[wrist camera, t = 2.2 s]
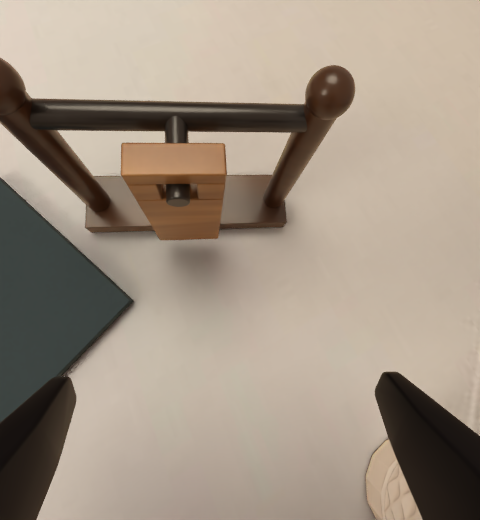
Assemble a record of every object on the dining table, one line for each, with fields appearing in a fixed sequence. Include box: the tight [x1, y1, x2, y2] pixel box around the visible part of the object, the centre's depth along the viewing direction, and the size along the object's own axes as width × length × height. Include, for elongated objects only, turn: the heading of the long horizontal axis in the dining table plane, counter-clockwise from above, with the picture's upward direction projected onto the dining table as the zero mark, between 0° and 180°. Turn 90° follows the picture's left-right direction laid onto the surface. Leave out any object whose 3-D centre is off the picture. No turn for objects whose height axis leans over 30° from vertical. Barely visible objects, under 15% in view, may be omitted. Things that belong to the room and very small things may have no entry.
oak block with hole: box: [121, 143, 227, 240], centre depth 16 cm, size 1×4×9 cm, turn 94°
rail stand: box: [0, 58, 355, 232], centre depth 17 cm, size 6×15×13 cm, turn 94°
